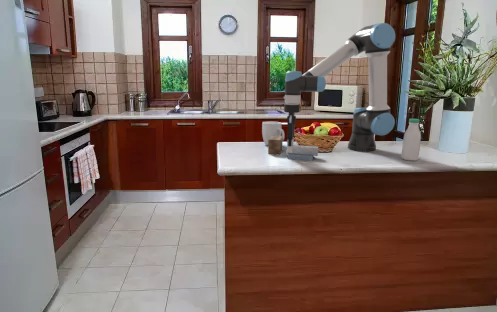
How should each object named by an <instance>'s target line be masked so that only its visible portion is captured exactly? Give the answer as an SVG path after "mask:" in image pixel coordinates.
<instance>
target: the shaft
mask: <svg viewBox="0 0 497 312" xmlns="http://www.w3.org/2000/svg"><path fill="white" fill-rule="evenodd" d="M288 154H296V155H313V157H318V156H319V146H316V145H315V146H314V145H313V146H312V145H301V144H300V145H299V144H298V145H297V144H293V150H292V153H290V152H287V151H286V155H288Z"/></svg>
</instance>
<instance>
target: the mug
mask: <svg viewBox="0 0 497 312" xmlns="http://www.w3.org/2000/svg"><path fill="white" fill-rule="evenodd" d="M261 126H262V127H261V129H262V130H261V134H262V139H263V143H264V144H265V145H266V146H268V139H269V138H270V137H271V136H283V141H285V131H284V129H282V122H279V121H272V120H271V121H262V124H261Z"/></svg>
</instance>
